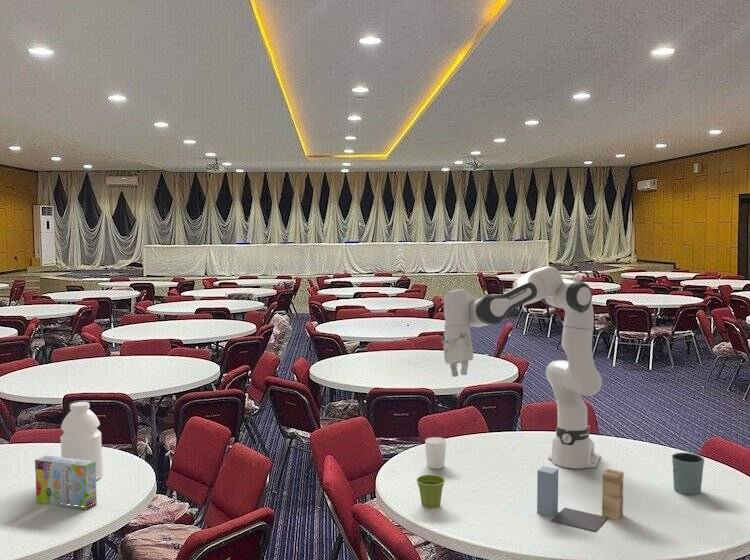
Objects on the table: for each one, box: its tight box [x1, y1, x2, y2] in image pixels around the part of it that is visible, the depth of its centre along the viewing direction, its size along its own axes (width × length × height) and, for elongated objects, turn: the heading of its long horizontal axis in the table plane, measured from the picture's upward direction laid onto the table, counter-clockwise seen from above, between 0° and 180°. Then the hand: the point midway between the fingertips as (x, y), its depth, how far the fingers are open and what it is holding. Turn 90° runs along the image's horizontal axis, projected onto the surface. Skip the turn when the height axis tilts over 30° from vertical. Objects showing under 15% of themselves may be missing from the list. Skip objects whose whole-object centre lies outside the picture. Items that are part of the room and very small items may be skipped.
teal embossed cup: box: [671, 452, 705, 496], centre depth 248 cm, size 10×10×12 cm
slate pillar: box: [536, 465, 559, 517], centre depth 231 cm, size 5×5×14 cm
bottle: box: [59, 401, 104, 481], centre depth 264 cm, size 14×14×28 cm
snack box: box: [34, 454, 98, 510], centre depth 241 cm, size 21×6×15 cm, turn 71°
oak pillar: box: [601, 468, 625, 521], centre depth 228 cm, size 5×5×14 cm
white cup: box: [424, 436, 447, 470], centre depth 275 cm, size 8×8×10 cm
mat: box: [550, 507, 609, 533], centre depth 225 cm, size 12×14×1 cm
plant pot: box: [416, 474, 446, 509], centre depth 237 cm, size 9×9×9 cm
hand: (459, 375), depth 246 cm, fingers open, 8 cm apart
